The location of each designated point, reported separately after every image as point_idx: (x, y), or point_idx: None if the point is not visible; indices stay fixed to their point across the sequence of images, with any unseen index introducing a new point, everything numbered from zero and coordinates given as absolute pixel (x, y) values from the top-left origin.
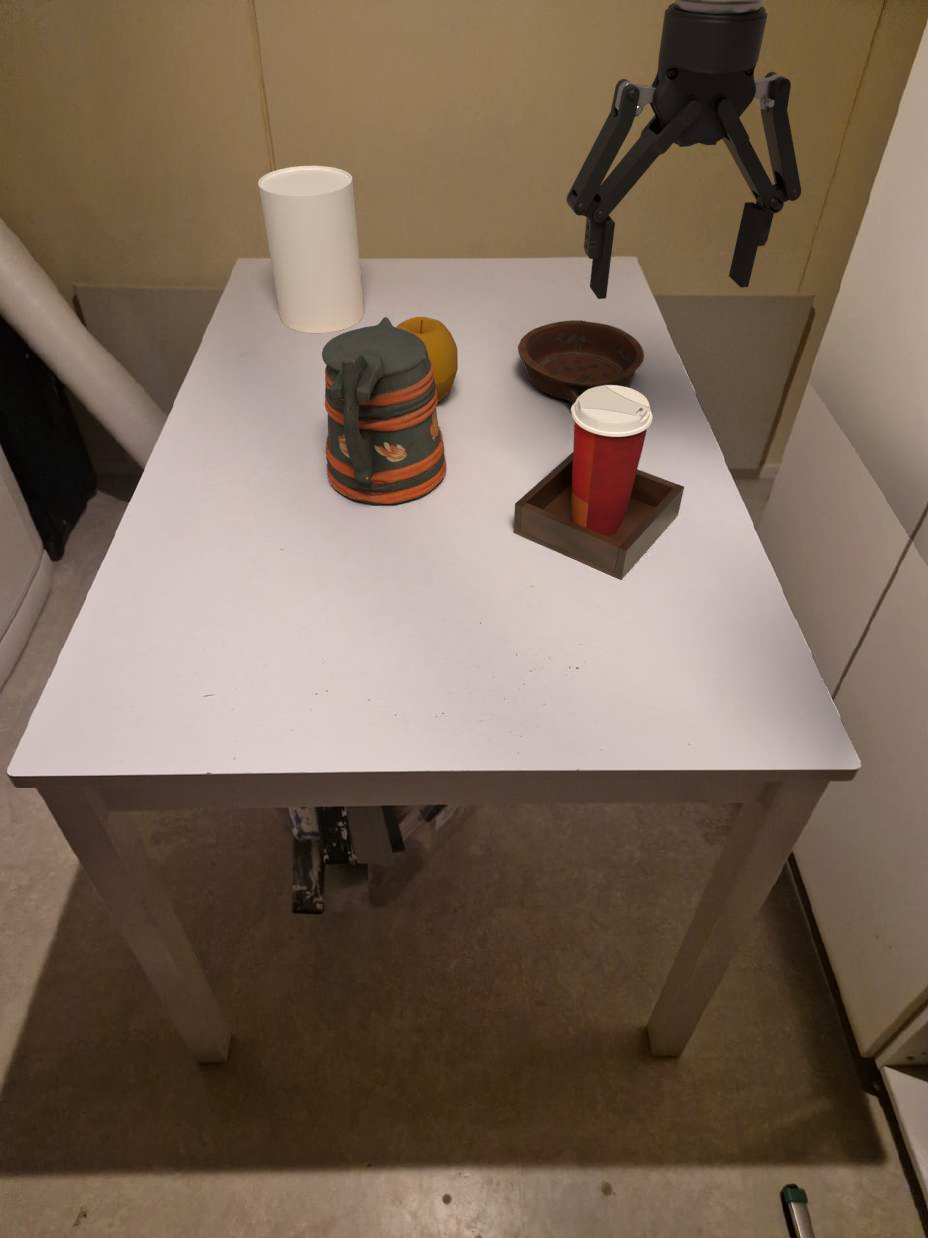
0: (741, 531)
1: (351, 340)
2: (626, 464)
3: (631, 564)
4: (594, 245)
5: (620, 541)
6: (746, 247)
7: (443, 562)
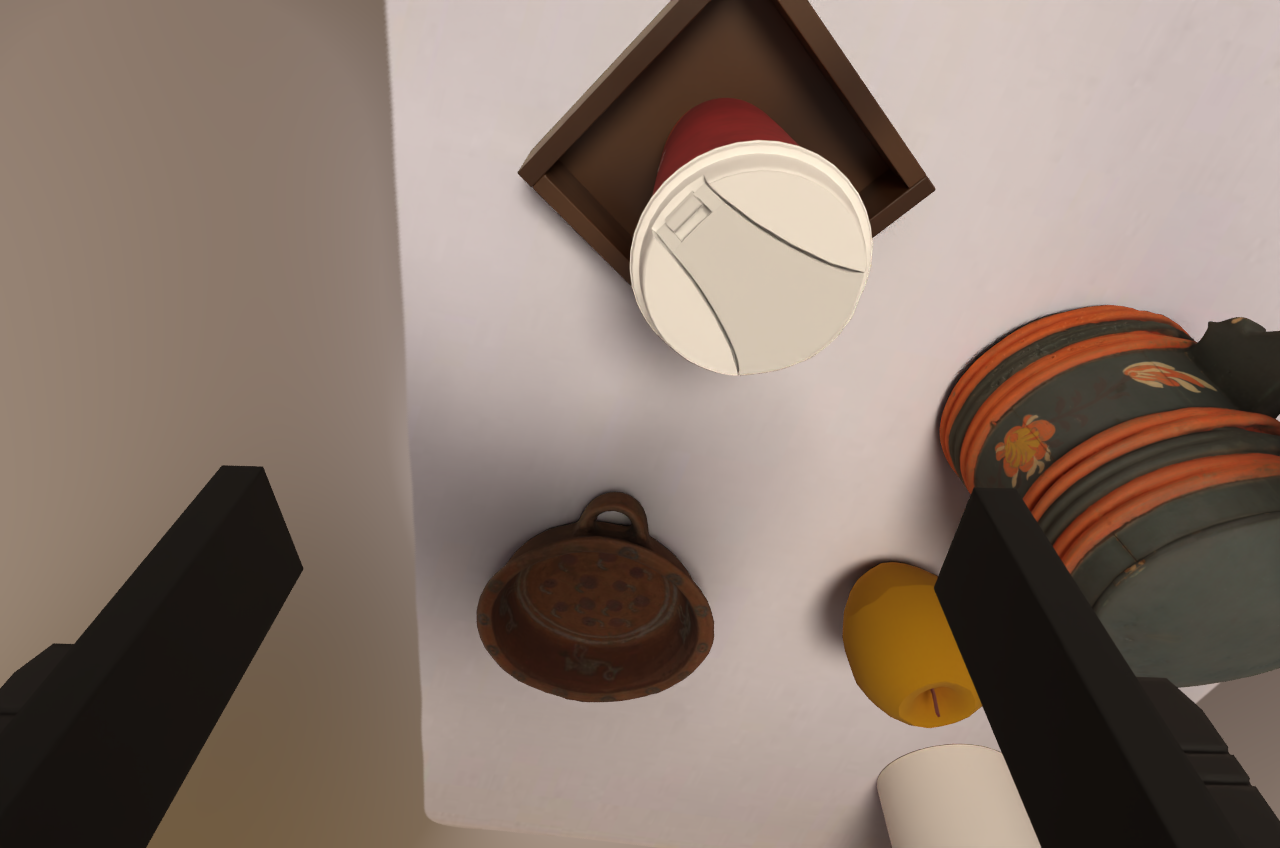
0: (398, 60)
1: None
2: (721, 132)
3: None
4: (1195, 752)
5: (698, 68)
6: (166, 642)
7: (1108, 91)
